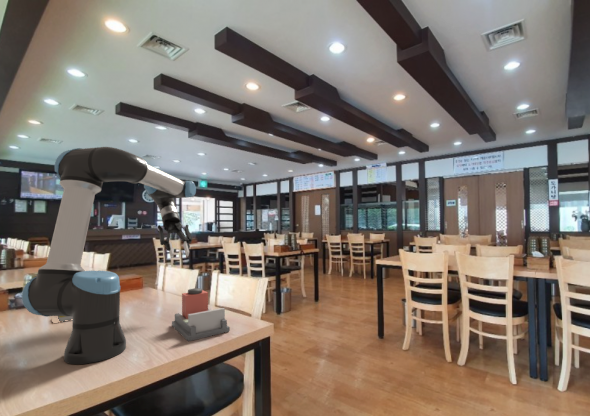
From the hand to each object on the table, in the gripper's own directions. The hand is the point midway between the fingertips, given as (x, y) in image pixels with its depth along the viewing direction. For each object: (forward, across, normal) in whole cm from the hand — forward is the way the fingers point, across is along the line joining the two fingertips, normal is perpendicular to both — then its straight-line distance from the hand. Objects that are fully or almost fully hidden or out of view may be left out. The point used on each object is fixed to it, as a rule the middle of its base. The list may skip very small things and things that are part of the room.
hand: (180, 254), depth 131 cm
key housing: (+34, 0, 0) cm, 34 cm away
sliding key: (+30, 0, -2) cm, 30 cm away
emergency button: (+1, +36, -34) cm, 50 cm away
